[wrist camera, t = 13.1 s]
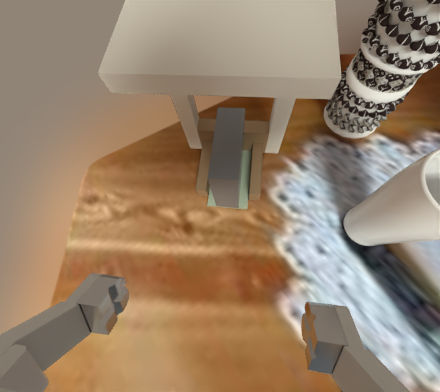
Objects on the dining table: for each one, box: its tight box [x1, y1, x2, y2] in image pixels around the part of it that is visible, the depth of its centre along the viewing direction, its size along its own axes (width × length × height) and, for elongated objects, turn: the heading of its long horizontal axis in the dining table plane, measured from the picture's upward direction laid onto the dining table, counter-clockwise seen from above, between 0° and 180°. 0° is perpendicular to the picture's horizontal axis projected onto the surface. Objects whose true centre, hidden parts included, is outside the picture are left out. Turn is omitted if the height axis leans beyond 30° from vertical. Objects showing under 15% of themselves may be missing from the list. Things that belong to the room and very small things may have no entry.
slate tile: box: [208, 107, 245, 208], centre depth 29 cm, size 9×3×10 cm, turn 174°
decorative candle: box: [323, 0, 440, 139], centre depth 24 cm, size 9×9×25 cm
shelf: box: [98, 0, 342, 209], centre depth 24 cm, size 12×14×22 cm
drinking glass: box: [344, 149, 440, 246], centre depth 23 cm, size 7×7×15 cm
